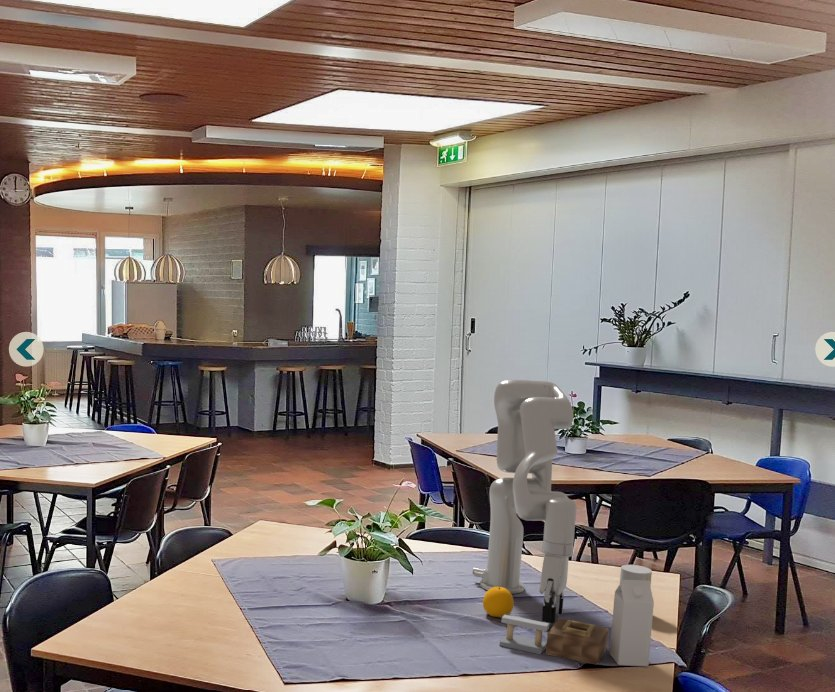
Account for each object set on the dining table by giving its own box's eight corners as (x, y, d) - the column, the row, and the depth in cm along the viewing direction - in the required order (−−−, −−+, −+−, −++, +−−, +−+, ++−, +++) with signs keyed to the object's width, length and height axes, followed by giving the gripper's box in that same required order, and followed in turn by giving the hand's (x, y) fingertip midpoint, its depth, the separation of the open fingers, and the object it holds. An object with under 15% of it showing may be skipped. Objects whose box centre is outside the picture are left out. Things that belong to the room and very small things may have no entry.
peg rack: (497, 645, 224) (499, 619, 223) (504, 637, 229) (506, 612, 229) (542, 654, 220) (544, 628, 219) (549, 646, 225) (551, 621, 225)
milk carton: (609, 654, 223) (616, 575, 222) (638, 655, 224) (645, 576, 223) (618, 665, 216) (625, 584, 215) (648, 667, 217) (655, 585, 216)
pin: (543, 630, 236) (546, 591, 236) (546, 627, 239) (549, 588, 239) (555, 633, 235) (558, 593, 235) (558, 629, 238) (561, 590, 238)
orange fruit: (515, 613, 248) (518, 585, 248) (508, 622, 240) (511, 593, 240) (486, 608, 251) (488, 580, 250) (478, 616, 243) (480, 588, 243)
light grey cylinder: (648, 619, 251) (652, 575, 251) (617, 615, 253) (621, 571, 253) (647, 610, 259) (651, 567, 259) (617, 606, 261) (620, 563, 260)
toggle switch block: (545, 653, 220) (547, 628, 220) (557, 638, 231) (559, 614, 231) (597, 664, 216) (599, 639, 216) (606, 648, 227) (609, 623, 227)
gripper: (551, 538, 246) (545, 605, 246) (534, 552, 230) (528, 624, 230) (580, 542, 243) (574, 610, 244) (564, 557, 227) (558, 630, 228)
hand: (552, 617), depth 237 cm, fingers open, 7 cm apart
